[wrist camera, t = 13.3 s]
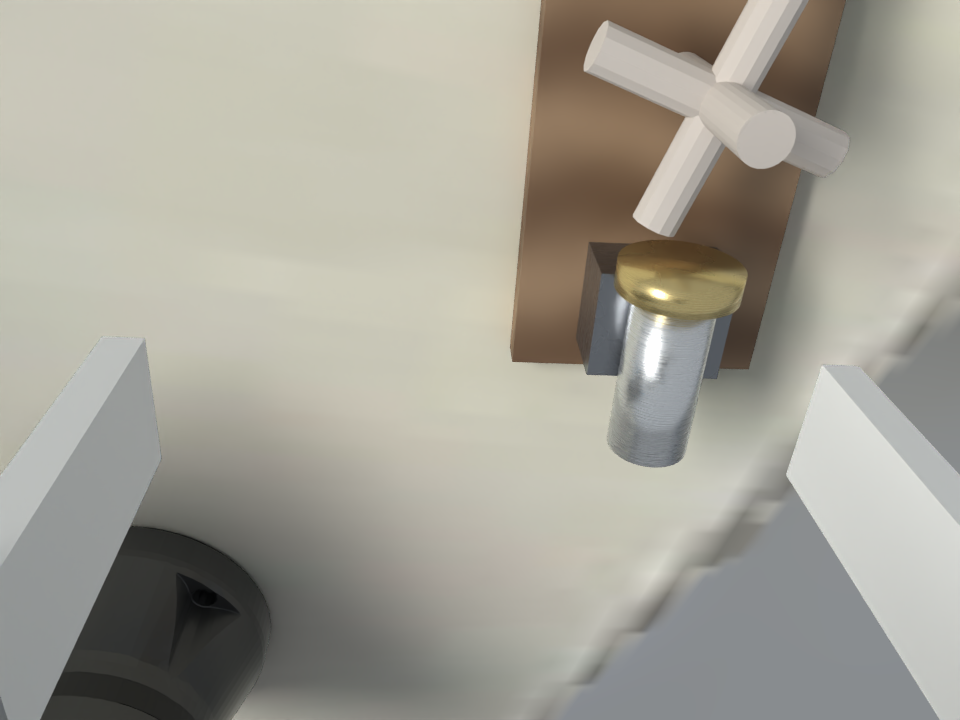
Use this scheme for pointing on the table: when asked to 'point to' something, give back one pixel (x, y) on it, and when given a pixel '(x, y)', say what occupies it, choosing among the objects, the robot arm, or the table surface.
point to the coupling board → (645, 163)
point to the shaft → (656, 337)
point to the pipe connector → (716, 107)
